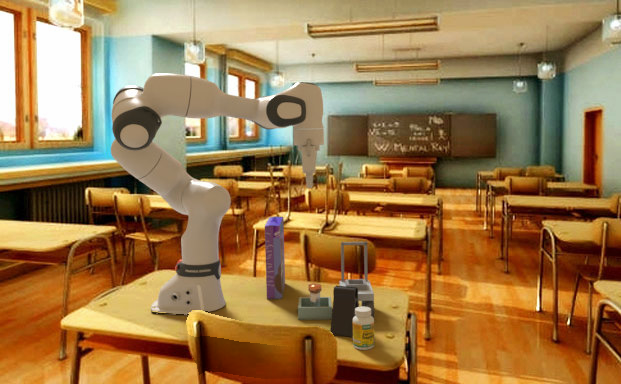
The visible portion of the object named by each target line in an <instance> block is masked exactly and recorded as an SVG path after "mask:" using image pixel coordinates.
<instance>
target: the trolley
mask: <svg viewBox="0 0 621 384" xmlns="http://www.w3.org/2000/svg"><path fill="white" fill-rule="evenodd" d="M345 246H363V247H364V253H363V254H364V255H363V256H364V258H363V259H364V278H357V279H356V278H355V279H349V278H348V279H345ZM340 260H341V261H340V262H341V263H340V264H341V265H340V269H341V275H340V276H341V277H340V278H341V280H339V286H346V287H356V288H358V301H359V302H361V307H369V308H371V315H370V316H372V317H373V318H374V319H375V302H374V301H375V292H374V290H373V287H372V285H371V281H370V280H368V241H341V242H340Z"/></svg>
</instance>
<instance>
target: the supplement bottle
mask: <svg viewBox="0 0 621 384" xmlns="http://www.w3.org/2000/svg"><path fill="white" fill-rule="evenodd" d="M355 315H356V316H354V318H353V337H352V346H353V347H354V348H355V349H357V350H360V351H361V350H362V351H368V350H372V349H373V348H374V347H375V317H374V318H373V317H372V316H370V315H371V308H369V307H362V306H359V307H357V308H355Z"/></svg>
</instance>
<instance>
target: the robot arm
mask: <svg viewBox="0 0 621 384" xmlns="http://www.w3.org/2000/svg"><path fill="white" fill-rule="evenodd" d="M323 101H324V100H323V93H322V89H321V88H320V86H319V85H317V84H315V83H312V82H303V81H298V82H295V83H294V84H293V85H291V87H289V88H288V89H285V90H283V91H281V92H278V93H275V94H271V95H264V96H260V97H258V98H249V97H244V96H238V95H233V94H230V93H229V94H228V93H226V92H223V90H221V89H220V87H218V85H217V84H216V83H215V82H213V81H210V80H208V79H205V78H201V77H199V76H198V77H197V76H193V75H187V74H180V73H153V74H151V75H149V77H148V78H147V79H146V81H145V83H144V85H143V87H141V86H139V85H133V84H131V85H126V86H123V87H122V88H120V89H119V90H118V91H117V92H116V94H115V96H114V98H113V101H112V109H111V121H112V126H111V127H112V129H111V130H112V133H113V134H112V135H113V137H114V140H113V141H112V143H111V145H110V146H111V147H110V154H111V158H112V159H114V160H115V161H116V162H117V164H118V165H119V166H121V167H122V168H123V169H124V170H125V171H126V172H127V173H129V175H131V176H132V177H134V178H135V179H136V180H138V181H139V182H141V183H143V184H144V185H145V186H147V187H148V188H149V189H151V190H153V191H154V192H155V193H157V195H159V196H160V197H161V198H162V199H163V200H164V201H165V202H166V203H167V204H168V206H170V208H171V209H173V210H174V211H176V212H177V213H180V214H181V215H184V216H185V215H186V216H187V217H188V219H187V220H188V221H187V225H186V229H185V231H184V233H182V235H181V239H180V241H181V242H180V245H181V259H179V260H178V261H177V263H176V264H175V268H174V269H175V273H176V274H174V275H173V276H172V277H171V278H170V279H169V280H168V281H166V282H165V283H164V284H163V285H162V286H161V288H160V289H159V292H158V297H157V299H156V300H154V302H152V303H151V305H150V311H151V310H152V311H158V312H166V313H173V314H172V315H176V314H184V315H183V316H188V315H187V314H188V313H189V312H191V311H192V310H203V311H208V312H213V311H217V310H220V309H221V308H223V307H224V306H226V303H227V302H226V300H225V297H224V294H223V293H224V291H223V288H222V283H221V277H222V267H221V266H222V265H221V260H220V258H219V257H220V256H219V234H220V233H219V232H220V226H221V225H222V224H221V223H222V220H223V217H224V216H225V215H226V214H227V213H228V211H229V210H230V207H231V205H232V204H231V203H232V199H231V195H230V193H229V191H228V190H227V189H226V188H225V187H224V186H222V185H220V184H218V183H216V182H213V181H205V180H199V179H197V178H194V177H192V176H191V175H190V174H189V173H188V172H187V171H186V170H185V169H184V167H183V164H182V162H180V160H178V159H177V158H175V157H174V156H173V155H171V154H170V153H169V152H167V150H165V149H164V148H162V147H161V146H160V145H158V143H156V142H154V139H155V137H156V135H157V133H158V131H159V129H160V127H161V126H162V124H163V121H162V119H163V117H167V116H172V117H173V116H174V117H179V118H188V119H199V120H200V119H213V118H216V117H230V118H234V119H240V120H247V121H251V122H252V123H254V124H255V125H257V126H259V127H260V128H261V129H265V130H274V129H275V130H276V129H285V128H288V127H291V126H292V128H293V129H292V131H293V133H292V135H293V146H297V151H298V152H301V159H302V160H301V163H302V164H301V165H302V170H301V171H302V173H303V174H305V185H306V189H313V187H314V186H313V185H314V184H313V182H314V174H315V173H316V170H317V169H316V167H317V166H316V163H317V155H318V151H321V147H320V146H324V145H325V140H324V139H325V136H324V135H325V133H324V132H325V131H324V128H325V127H324V124H323V116H324V102H323ZM153 307H155V308H153ZM208 312H207V313H208Z"/></svg>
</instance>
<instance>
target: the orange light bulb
mask: <svg viewBox="0 0 621 384" xmlns="http://www.w3.org/2000/svg"><path fill="white" fill-rule="evenodd" d="M307 288H308V292H309V297H310V307H320V297H321V292H322V290H323V289H322V284H321V283H315V282H314V283H309V284H308V287H307Z"/></svg>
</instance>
